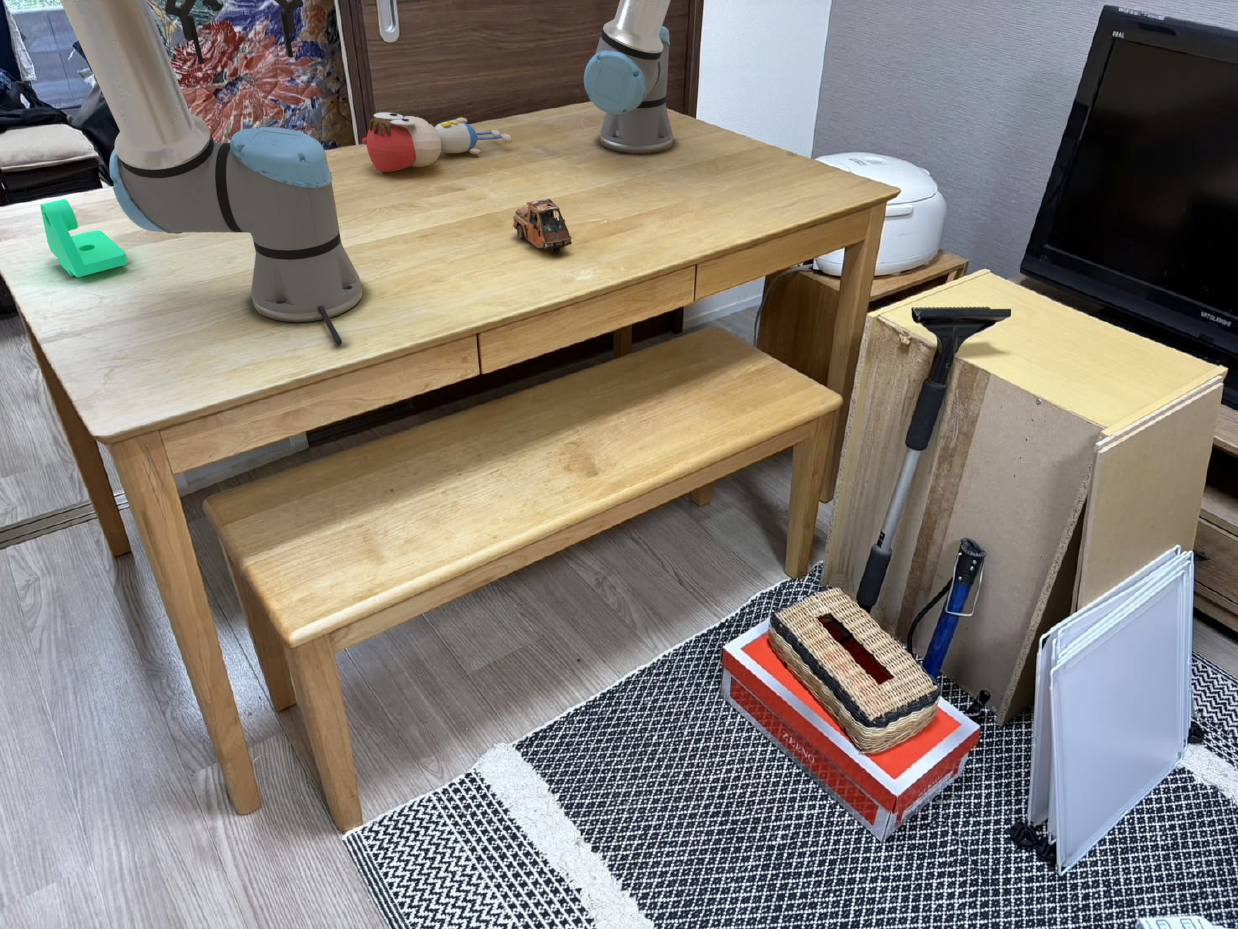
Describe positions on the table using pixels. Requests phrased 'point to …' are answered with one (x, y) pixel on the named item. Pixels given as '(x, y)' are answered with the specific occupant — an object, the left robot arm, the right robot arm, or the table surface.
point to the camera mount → (78, 242)
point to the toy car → (542, 225)
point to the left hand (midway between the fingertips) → (246, 59)
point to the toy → (418, 140)
